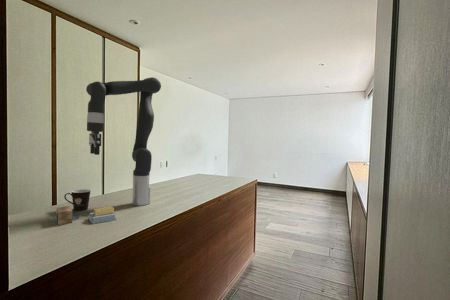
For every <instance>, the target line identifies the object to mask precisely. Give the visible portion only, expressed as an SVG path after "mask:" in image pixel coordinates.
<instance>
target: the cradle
mask: <svg viewBox="0 0 450 300" xmlns="http://www.w3.org/2000/svg"><path fill="white" fill-rule="evenodd" d="M88 220H89V222H90V223H91V224H92V225H94V224H99V223H104V222H111V221H117V217H116V213H114V214H109V215H102V216H96V217H93V212H89V215H88Z"/></svg>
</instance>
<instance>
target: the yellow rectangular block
mask: <svg viewBox="0 0 450 300" xmlns="http://www.w3.org/2000/svg"><path fill="white" fill-rule="evenodd" d="M92 213H93V217H96V216H102V215H109V214H115V207H113V206H110V205H109V206H104V207H98V208H93V212H92Z"/></svg>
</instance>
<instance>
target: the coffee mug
mask: <svg viewBox="0 0 450 300" xmlns="http://www.w3.org/2000/svg"><path fill="white" fill-rule="evenodd" d="M67 195H70V196H71V198H72V201H70V200H68V198H67V197H66V196H67ZM90 196H91V189H87V188H85V189H84V188H82V189H74V190H72V191H71V193H70V192H67V193H65V194H64V197H63V198H64V199H65V201H66V202H67V203H70V204H71V205H72V206H73V212H85V211H88V209H89V202H90Z"/></svg>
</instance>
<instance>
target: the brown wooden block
mask: <svg viewBox="0 0 450 300" xmlns="http://www.w3.org/2000/svg"><path fill="white" fill-rule="evenodd" d="M55 209H56V210H55V211H56V213H55V216H58V224H57V225H58V226H61V225H68V224H72V223H73V220H72V213H73V210H72V208H71V207H70V206H69V205H68V206H60V207H55Z"/></svg>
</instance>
